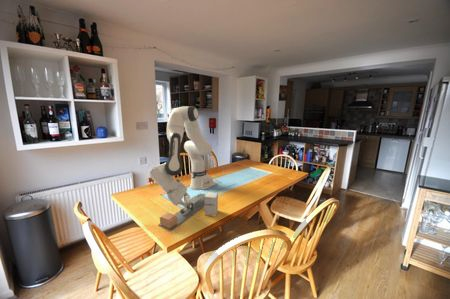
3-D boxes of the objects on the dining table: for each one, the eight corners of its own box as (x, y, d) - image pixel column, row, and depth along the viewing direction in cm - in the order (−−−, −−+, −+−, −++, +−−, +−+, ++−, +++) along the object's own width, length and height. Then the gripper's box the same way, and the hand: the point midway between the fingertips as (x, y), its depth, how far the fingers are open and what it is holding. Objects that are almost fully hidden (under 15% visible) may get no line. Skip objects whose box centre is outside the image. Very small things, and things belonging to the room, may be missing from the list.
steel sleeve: (200, 200, 141) (200, 193, 140) (206, 202, 139) (206, 195, 137) (187, 208, 129) (186, 201, 128) (193, 210, 127) (193, 203, 126)
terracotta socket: (167, 219, 116) (167, 211, 115) (177, 223, 112) (177, 215, 111) (160, 224, 112) (159, 216, 111) (170, 228, 108) (170, 220, 107)
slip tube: (200, 199, 140) (200, 186, 138) (204, 200, 138) (204, 187, 136) (179, 213, 122) (179, 198, 120) (183, 214, 120) (183, 199, 118)
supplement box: (204, 215, 123) (203, 196, 120) (207, 209, 130) (206, 191, 127) (215, 216, 122) (215, 197, 119) (218, 210, 129) (218, 192, 126)
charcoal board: (198, 199, 143) (198, 199, 143) (209, 203, 138) (209, 202, 138) (158, 225, 112) (158, 224, 112) (171, 231, 107) (171, 230, 107)
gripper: (169, 190, 112) (187, 207, 113) (179, 178, 132) (194, 192, 133) (162, 197, 113) (180, 213, 114) (173, 184, 133) (187, 198, 134)
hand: (187, 202), depth 124 cm, fingers open, 8 cm apart
